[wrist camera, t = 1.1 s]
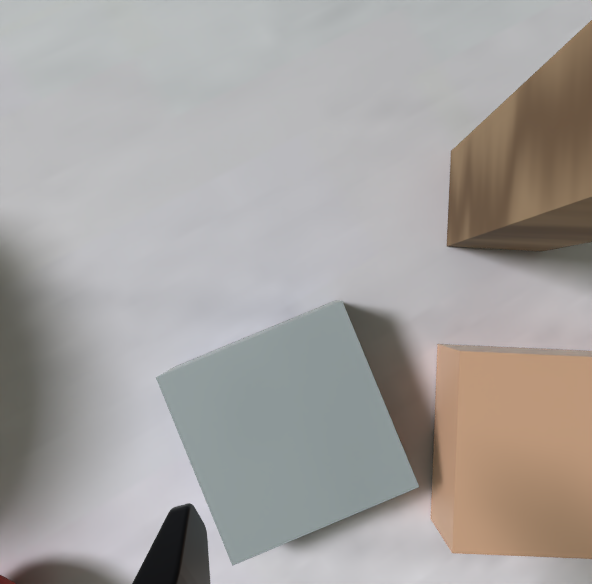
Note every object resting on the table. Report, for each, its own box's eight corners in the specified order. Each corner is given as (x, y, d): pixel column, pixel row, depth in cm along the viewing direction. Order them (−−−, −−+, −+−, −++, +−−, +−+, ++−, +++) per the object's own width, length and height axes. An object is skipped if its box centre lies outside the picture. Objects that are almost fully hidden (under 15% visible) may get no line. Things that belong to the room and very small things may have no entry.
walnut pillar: (541, 251, 23) (949, 173, 9) (446, 246, 23) (700, 159, 9) (546, 156, 23) (956, -75, 9) (451, 150, 23) (709, -90, 9)
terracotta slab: (604, 525, 22) (652, 561, 19) (430, 518, 22) (452, 553, 19) (610, 351, 22) (658, 359, 20) (437, 344, 22) (460, 350, 19)
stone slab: (402, 461, 22) (419, 486, 19) (240, 529, 22) (232, 565, 19) (335, 300, 22) (342, 300, 19) (174, 367, 22) (155, 377, 19)
